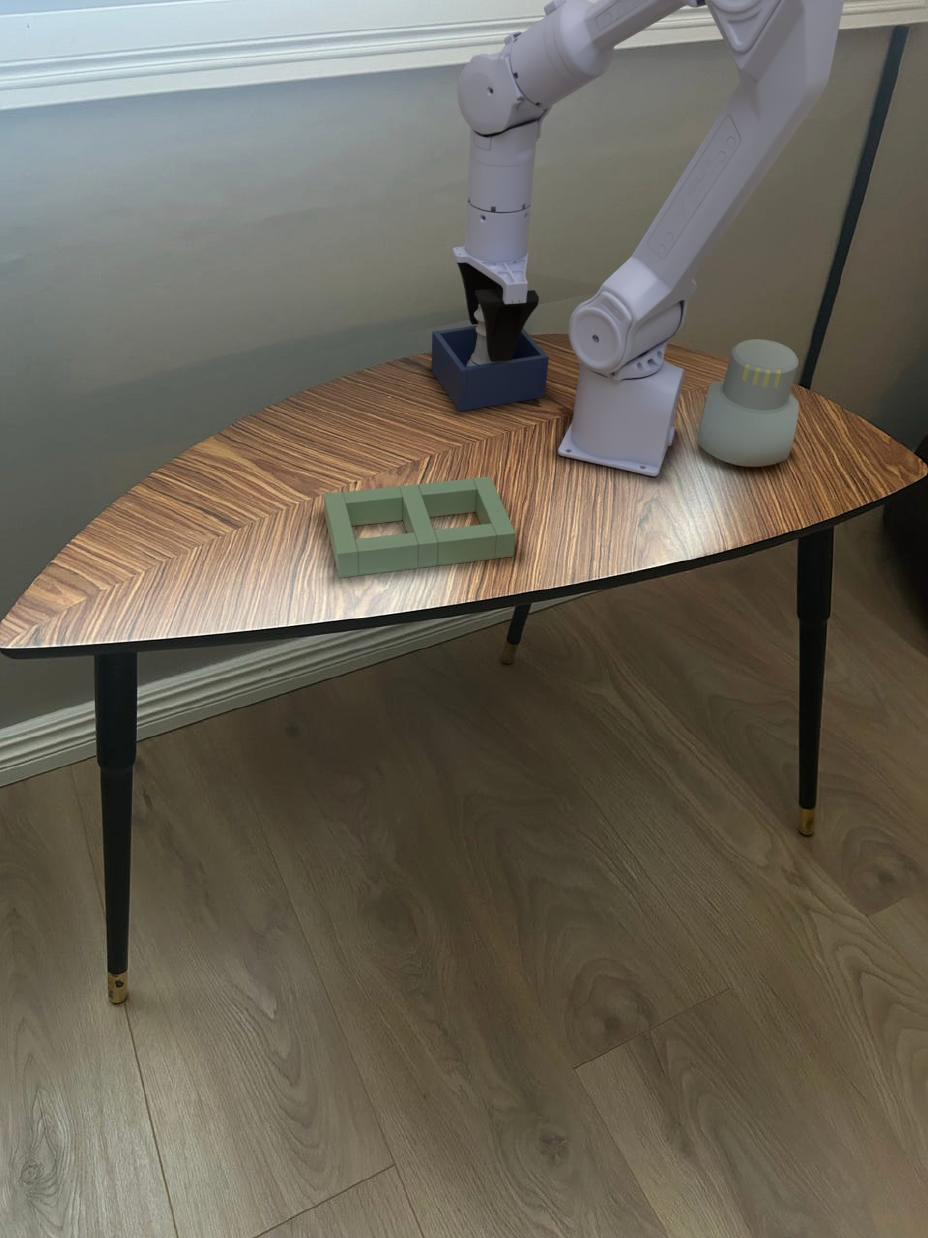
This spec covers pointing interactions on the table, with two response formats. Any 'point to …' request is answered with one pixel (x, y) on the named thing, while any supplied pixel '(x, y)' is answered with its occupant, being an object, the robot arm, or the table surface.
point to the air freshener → (752, 406)
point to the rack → (417, 526)
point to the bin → (487, 370)
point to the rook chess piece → (480, 342)
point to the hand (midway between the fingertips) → (490, 340)
